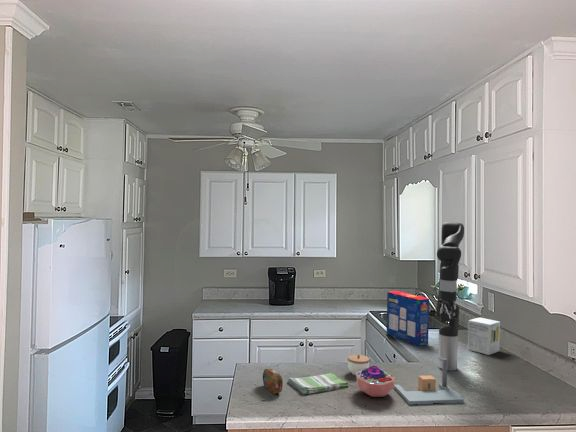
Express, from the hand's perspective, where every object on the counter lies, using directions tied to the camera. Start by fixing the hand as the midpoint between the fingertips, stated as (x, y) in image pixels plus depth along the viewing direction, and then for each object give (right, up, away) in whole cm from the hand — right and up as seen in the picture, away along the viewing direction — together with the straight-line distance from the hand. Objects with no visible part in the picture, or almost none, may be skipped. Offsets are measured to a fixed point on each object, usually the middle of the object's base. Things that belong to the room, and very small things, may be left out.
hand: (447, 324), depth 211 cm
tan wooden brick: (-12, -28, -7) cm, 31 cm away
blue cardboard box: (+1, -28, +75) cm, 80 cm away
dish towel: (-60, -28, -3) cm, 66 cm away
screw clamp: (-13, -28, -12) cm, 33 cm away
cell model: (-36, -28, -12) cm, 47 cm away
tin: (-81, -27, -10) cm, 86 cm away
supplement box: (+41, -29, +55) cm, 74 cm away
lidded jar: (-39, -27, +12) cm, 50 cm away
